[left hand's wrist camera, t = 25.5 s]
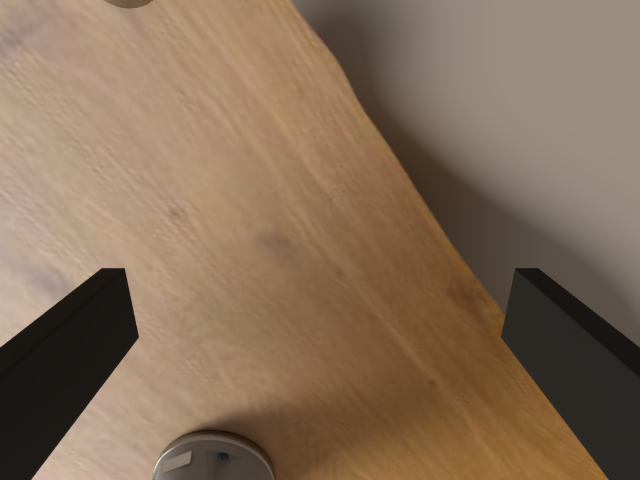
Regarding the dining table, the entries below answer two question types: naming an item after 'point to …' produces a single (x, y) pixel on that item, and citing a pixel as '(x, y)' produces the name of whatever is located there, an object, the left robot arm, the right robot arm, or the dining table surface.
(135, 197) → the dining table surface
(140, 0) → the can
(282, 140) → the dining table surface
